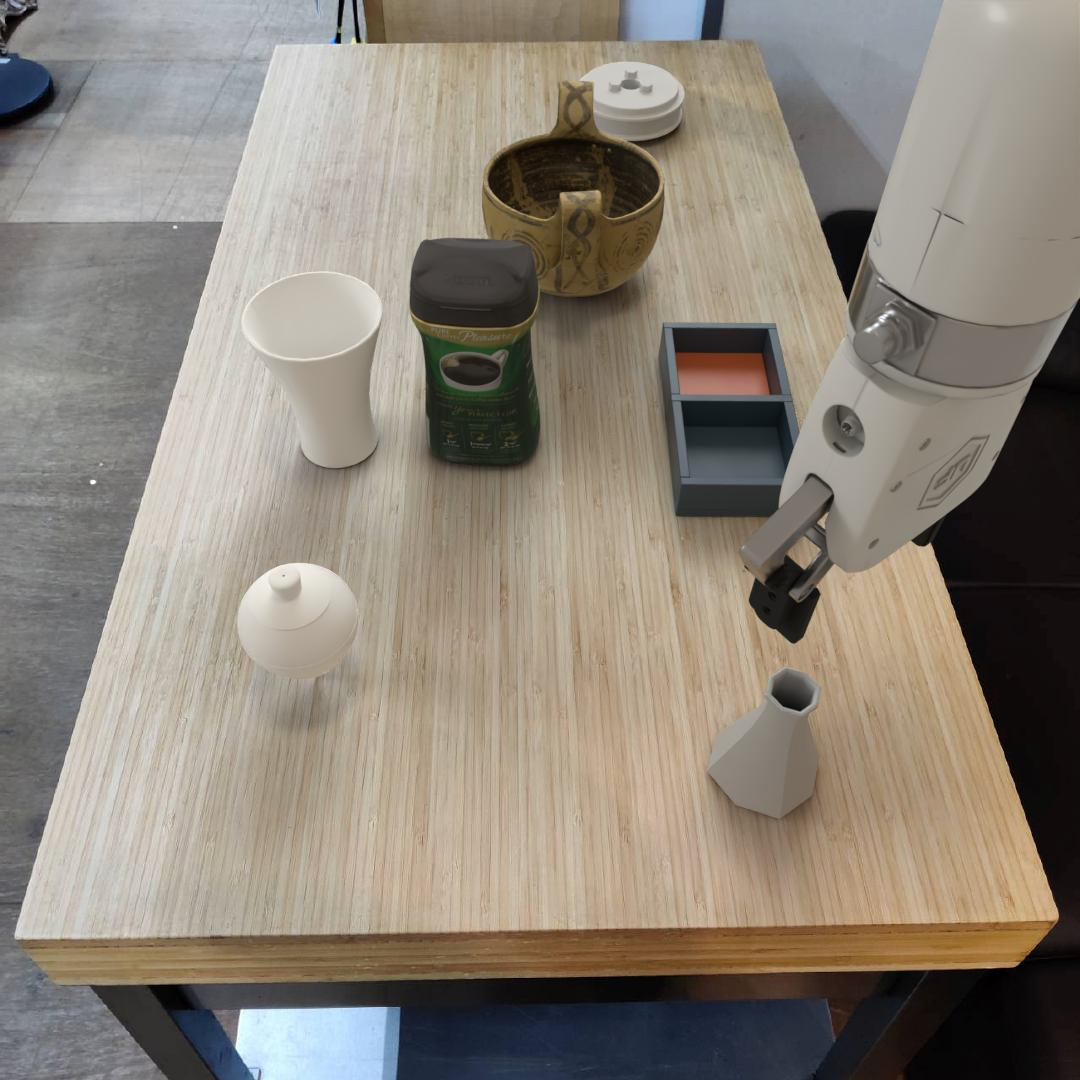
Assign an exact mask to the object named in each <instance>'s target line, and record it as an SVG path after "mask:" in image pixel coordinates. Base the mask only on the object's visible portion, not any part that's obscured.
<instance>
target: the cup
mask: <svg viewBox="0 0 1080 1080" xmlns="http://www.w3.org/2000/svg"><path fill="white" fill-rule="evenodd" d="M383 307H384V306H383V301H382V300H381V298H380V296H379V295H378V293H377V291H376V290H374V288H372V287H371V286H370V285H369V284H368V283H367V282H365V281H364V280H361V279H360V278H358V277H355V276H353V275H348V274H345V273H340V272H338V271H337V272H336V271H323V270H322V271H321V270H317V271H308V272H307V271H306V272H305V271H304V272H300V273H296V274H291V275H288V276H285V277H281V278H280V279H278V280H275V281H273V282H270V283H269V284H267V285H266V286H264V287H263V288H262V289H260V290H258V291H257V292H256V293H255V294H254V295H253V296H252V297H251V298H250V300H249V301H248V302H247V303H246V305H245V308H244V309H243V310H244V311H243V312H242V314H241V321H240V322H241V323H240V329H241V331H242V334H243V336H244V339H245V341H246V342H247V344H249V346H250V347H251V348H252V350H253V351H254V352H255V353H256V355H257V356H258V357H259V359H260V360H261V361H262V363H263V364H264V366H265V367H266V369H268V371H269V372H270V374H271V375H272V376H273V378H274V379H275V380H276V382H277V383H278V385H279V386H280V387H281V388H282V391H283V392H284V394H285V396H286V398H287V400H288V402H289V404H290V406H291V407H292V411H293V413H294V416H295V419H296V422H297V426H298V432H299V433H298V434H299V440H300V448H301V451H302V453H303V455H304V456H305V458H307V460H308V461H310V462H312V463H313V464H315V465H317V466H320V467H324V468H329V469H342V468H348V467H352V466H355V465H357V464H359V463H361V462H362V461H364V460H366V459H367V458H368V457H369V456H370V455H371V454H372V453H373V452H374V451H375V449H376V448H377V445H378V441H379V432H378V429H377V425H376V422H375V419H374V416H373V413H372V407H371V398H370V397H371V396H370V392H371V391H370V390H371V389H370V388H371V374H372V373H371V371H372V367H373V361H374V356H375V351H376V346H377V342H378V337H379V333H380V330H381V325H382V321H383V318H384V309H383Z"/></svg>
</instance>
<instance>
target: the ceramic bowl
mask: <svg viewBox="0 0 1080 1080" xmlns="http://www.w3.org/2000/svg"><path fill="white" fill-rule="evenodd" d="M557 85H558V87H557V88H558V94H557V95H558V98H557V114H556V115H557V116H556V122H555V125H554V126H553V128H552V129H551V131H550V132H549V133H548V132H547V133H545V134H540V135H534V136H530V137H526V138H523V139H519V140H518V141H517V140H516V141H515V142H513V143H510V144H507V146H504V147H503V148H501V149H500V150H499V151H497V152H496V153H494V155H493V156H492V157H491V158H490V160H489V161H488V162H487V164H486V165H485V167H484V169H483V174H482V188H481V211H482V217H483V222H484V227H485V231H486V236H487V237H488V238H487V239H495V240H509V241H515V242H519V243H523V244H526V245H528V246H530V248H531V250H532V253H533V257H534V261H535V268H536V272H537V278H538V283H539V291H540V292H541V293H545V294H547V295H551V296H557V297H562V298H563V297H564V298H583V297H584V298H585V297H593V296H597V295H601V294H605V293H607V292H610V291H612V290H615V289H616V288H618V287H621V286H622V285H623V284H625V283H626V282H627V281H628V280H630V279H631V278H633V276H634V275H635V274H636V273H638V272H639V270H640V269H641V268H642V267H643V266H644V264H645V262H646V261H647V260H648V258H649V257H650V255H651V253H652V251H653V250H654V247H655V246H656V243H657V240H658V236H659V233H660V231H661V229H662V222H663V219H664V211H665V210H664V209H665V183H666V179H665V175H664V172H663V169H662V167H661V165H660V163H659V162H658V160H657V159H656V158H655V157H654V156H653V155H652V154H651V153H650V152H648V151H647V150H645V149H644V148H643V147H640V146H639V145H637V144H635V143H633V142H631V141H626V140H623V139H620V138H616V137H611V136H608V135H606V134H604V133H602V132H601V131H599V130H598V128H597V127H596V125H595V121H594V114H593V99H594V82H590V81H579V80H572V79H568V80H560V81H558V82H557Z"/></svg>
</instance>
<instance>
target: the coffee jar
mask: <svg viewBox="0 0 1080 1080" xmlns="http://www.w3.org/2000/svg"><path fill="white" fill-rule="evenodd" d="M540 292H541V291H539V283H538V278H537V272H536V268H535V261H534V257H533V253H532V250H531V248H530V246H528V245H526V244H523V243H519V242H515V241H509V240H495V239H489V238H474V237H473V238H470V237H467V238H466V237H465V238H464V237H441V238H434V239H423V240H421V242H420V244H419V245H418V248H417V250H416V252H415V255H414V258H413V261H412V266H411V271H410V280H409V298H408V309H409V310H408V311H409V314H410V318H411V321H412V323H413V324H414V326H415V328H416V330H417V331H418V333H419V335H420V338H421V344H422V348H423V349H422V350H423V357H424V372H425V373H424V377H425V382H424V383H425V385H424V386H425V391H424V392H425V394H424V395H425V399H424V402H425V403H424V405H425V406H424V407H425V409H424V411H425V412H424V414H425V415H424V416H425V434H426V441H427V447H428V449H429V450H430V451H431V453H432V454H433V455H434V456H436V457H437V458H438V459H440V460H443V461H445V462H449V463H453V464H454V463H455V464H461V465H467V466H482V467H483V466H485V467H486V466H487V467H502V466H503V467H505V466H507V467H508V466H514V465H518V464H521V463H523V462H524V461H526V460H528V459H529V458H530V457H531V456H532V455H533V454H534V452H535V451H536V448H537V446H538V445H539V440H540V439H539V438H540V434H541V412H540V411H541V410H540V403H539V402H540V401H539V394H538V387H537V381H536V376H535V370H534V369H535V368H534V361H533V360H534V359H533V352H532V351H533V350H532V327H533V325H534V323H535V321H536V318H537V315H538V312H539V308H540Z"/></svg>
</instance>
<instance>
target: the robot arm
mask: <svg viewBox="0 0 1080 1080" xmlns="http://www.w3.org/2000/svg"><path fill="white" fill-rule="evenodd" d="M870 231H871V232H870V234H869V236H868V239H867V242H866V245H865V248H864V251H863V254H862V257H861V260H860V264H859V267H858V269H857V273H856V276H855V279H854V282H853V285H852V289H851V292H850V295H849V298H848V303H847V306H846V309H845V312H844V325H845V330H846V334H845V336H844V337H843V338H842V340H841V342H840V343H839V345H838V347H837V349H836V351H835V353H834V355H833V357H832V359H831V361H830V363H829V365H828V367H827V369H826V371H825V373H824V376H823V377H822V380H821V382H820V384H819V386H818V388H817V391H816V393H815V395H814V397H813V400H812V403H811V404H810V406H809V409H808V411H807V414H806V415H805V418H804V421H803V422H802V423H803V424H802V426H801V428H800V430H799V431H800V433H799V436H798V438H797V441H796V444H795V447H794V449H793V452H792V455H791V458H790V461H789V464H788V467H787V470H786V473H785V476H784V480H783V483H782V488H781V492H780V498H779V509H778V510H777V511H776V512H775V513H774V514H773V515H772V516H771V517H769V518H768V519H766V521H765V522H764V523H762V524H761V526H759V528H758V529H757V530H756V531H754V532H753V533H752V534H751V536H750V537H748V538H747V539H746V540H745V542H744V543H743V544H742V545H741V546H740V548H739V550H738V555H739V557H740V559H741V561H742V563H743V564H744V565H743V567H744V569H746V570H747V572H749V574H751V575H752V576H753V577H754V580H753V582H752V587H751V590H750V593H749V597H748V603H749V606H750V607H751V608H752V609H753V610H754V613H755V615H756V617H757V618H758V619H759V621H761V623H763V624H764V625H765V626H766V627H768V628H769V629H771V630H776V631H777V632H778V633H779V634H780V635H781V636H782V637H783V638H784V639H786V641H788V642H789V643H790V644H794V645H795V644H797V643H798V642H800V641H801V640H802V639H803V638H804V637H805V635H806V632H807V630H808V627H809V625H810V622H811V620H812V617H813V615H814V612H815V610H816V607H817V605H818V603H819V600H820V597H821V595H822V593H821V592H820V589H819V587H817V586H818V585H819V584H820V582H822V580H823V579H824V577H826V575H827V574H828V572H829V571H830V570H831V569H832V568H833V566H834V565H835V566H836V567H838V568H840V569H841V570H842V571H843V572H845V573H847V574H855V573H861V572H866V571H867V570H870V569H871V568H872V569H873V568H874V567H875V566H877V565H878V564H880V563H882V562H883V561H884V560H886V559H888V557H890V556H891V555H893V554H894V553H896V552H897V551H898V550H900V549H901V548H902V547H904V546H905V545H907V544H908V543H909V542H912V543H913V544H914V545H915V546H917V547H922V548H925V547H926V546H928V545H929V544H931V543H932V542H933V541H934V539H935V537H936V535H937V534H938V532H939V529H940V528H941V526H942V524H943V522H944V521H945V518H946V516H947V514H948V513H950V512H951V511H952V510H954V509H955V508H957V507H958V506H959V505H960V504H961V503H963V502H964V501H966V500H967V499H968V498H969V497H971V496H972V495H973V494H974V493H975V492H976V491H977V490H978V489H979V488H980V487H981V486H982V484H983V483H985V481H986V480H987V478H988V476H989V475H990V473H991V471H992V469H993V467H994V466H995V463H996V461H997V458H998V457H999V455H1000V453H1001V451H1002V448H1003V447H1004V445H1005V442H1006V441H1007V439H1008V437H1009V434H1010V432H1011V430H1012V428H1013V426H1014V424H1015V421H1016V419H1017V417H1018V415H1019V413H1020V411H1021V408H1022V406H1023V404H1024V402H1025V400H1026V397H1027V395H1028V393H1029V391H1030V388H1031V386H1032V384H1033V381H1034V379H1035V378H1036V377H1037V376H1038V374H1039V373H1040V371H1041V370H1042V368H1043V366H1044V364H1045V362H1046V360H1047V359H1048V357H1049V355H1050V353H1051V351H1052V349H1053V348H1054V345H1055V344H1056V342H1057V340H1058V338H1059V336H1060V335H1061V333H1062V331H1063V329H1064V327H1065V325H1066V324H1067V322H1068V320H1069V319H1070V316H1071V314H1072V312H1073V311H1074V309H1075V307H1076V305H1077V303H1078V302H1079V299H1080V0H943V2H942V5H941V8H940V11H939V14H938V17H937V20H936V25H935V27H934V31H933V33H932V36H931V40H930V43H929V46H928V51H927V53H926V56H925V59H924V62H923V66H922V69H921V72H920V75H919V78H918V82H917V84H916V88H915V91H914V95H913V97H912V101H911V104H910V108H909V111H908V114H907V116H906V121H905V124H904V127H903V130H902V132H901V136H900V138H899V142H898V145H897V150H896V152H895V155H894V158H893V161H892V163H891V168H890V170H889V175H888V177H887V180H886V183H885V186H884V189H883V192H882V196H881V200H880V203H879V205H878V209H877V212H876V215H875V218H874V222H873V224H872V227H871V230H870ZM824 516H826V518H825V521H824V527H823V526H822V525H820V524H819V523H818V522H819V521H821V519H822V518H824ZM804 537H805V538H806V539H807V540H809V542H811V543H812V544H813V545H815V546H816V547H817V548H818V549H819V552H818V553H817V554H816V555H815V557H814V558H813V559H812V560H811V561H810V563H809V564H808V565H807V566H806V568H805V569H804V567H802V566H801V565H799V564H798V563H797V562H796V561H795V560H794V559H792V558H791V557H790V555H788V552H789V551H791V550H792V548H793V547H795V545H796V544H797V543H798V542H799V541H801V540H802V539H803V538H804Z"/></svg>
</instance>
